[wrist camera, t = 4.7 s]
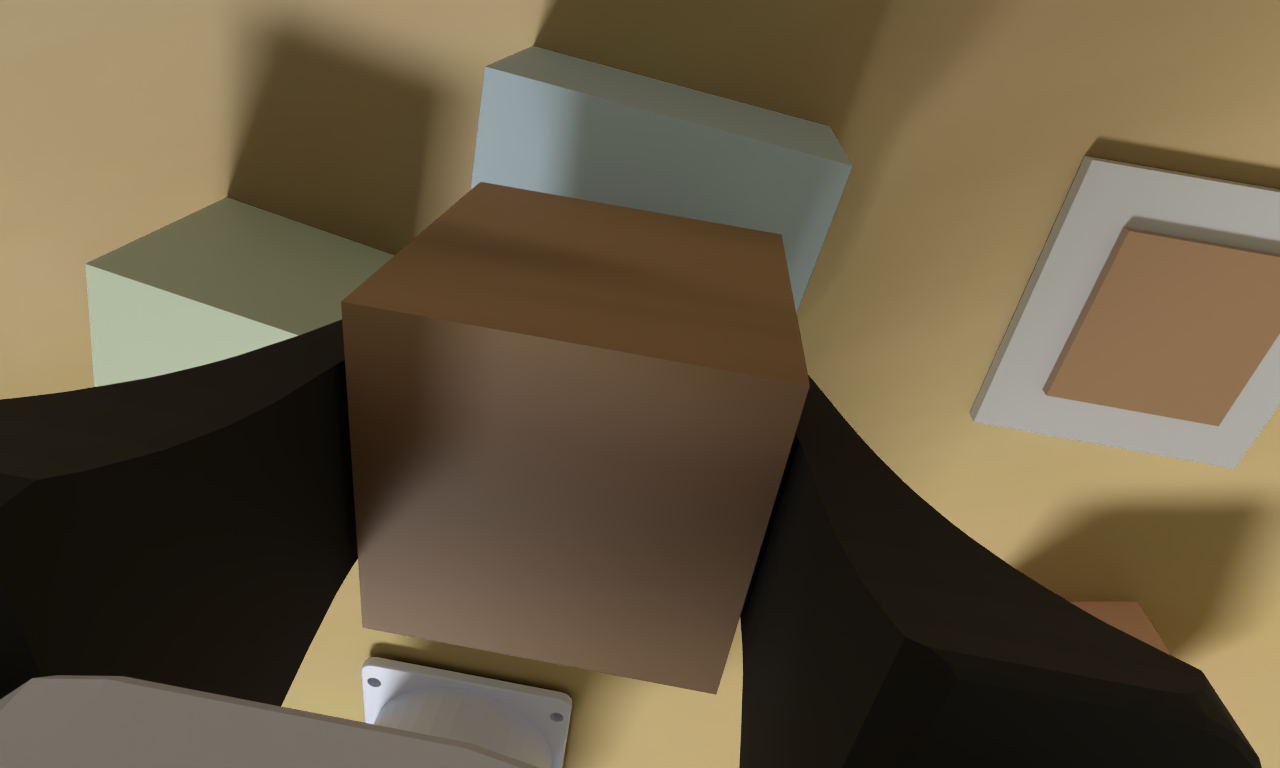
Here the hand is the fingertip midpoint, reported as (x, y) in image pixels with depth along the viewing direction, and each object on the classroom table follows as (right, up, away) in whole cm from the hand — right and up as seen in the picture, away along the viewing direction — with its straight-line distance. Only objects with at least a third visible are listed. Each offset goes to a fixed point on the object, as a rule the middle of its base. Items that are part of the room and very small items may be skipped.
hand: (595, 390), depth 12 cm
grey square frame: (+14, +2, +7) cm, 15 cm away
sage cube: (-9, +2, +9) cm, 13 cm away
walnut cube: (0, +1, +2) cm, 2 cm away
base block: (+1, +4, +7) cm, 8 cm away
